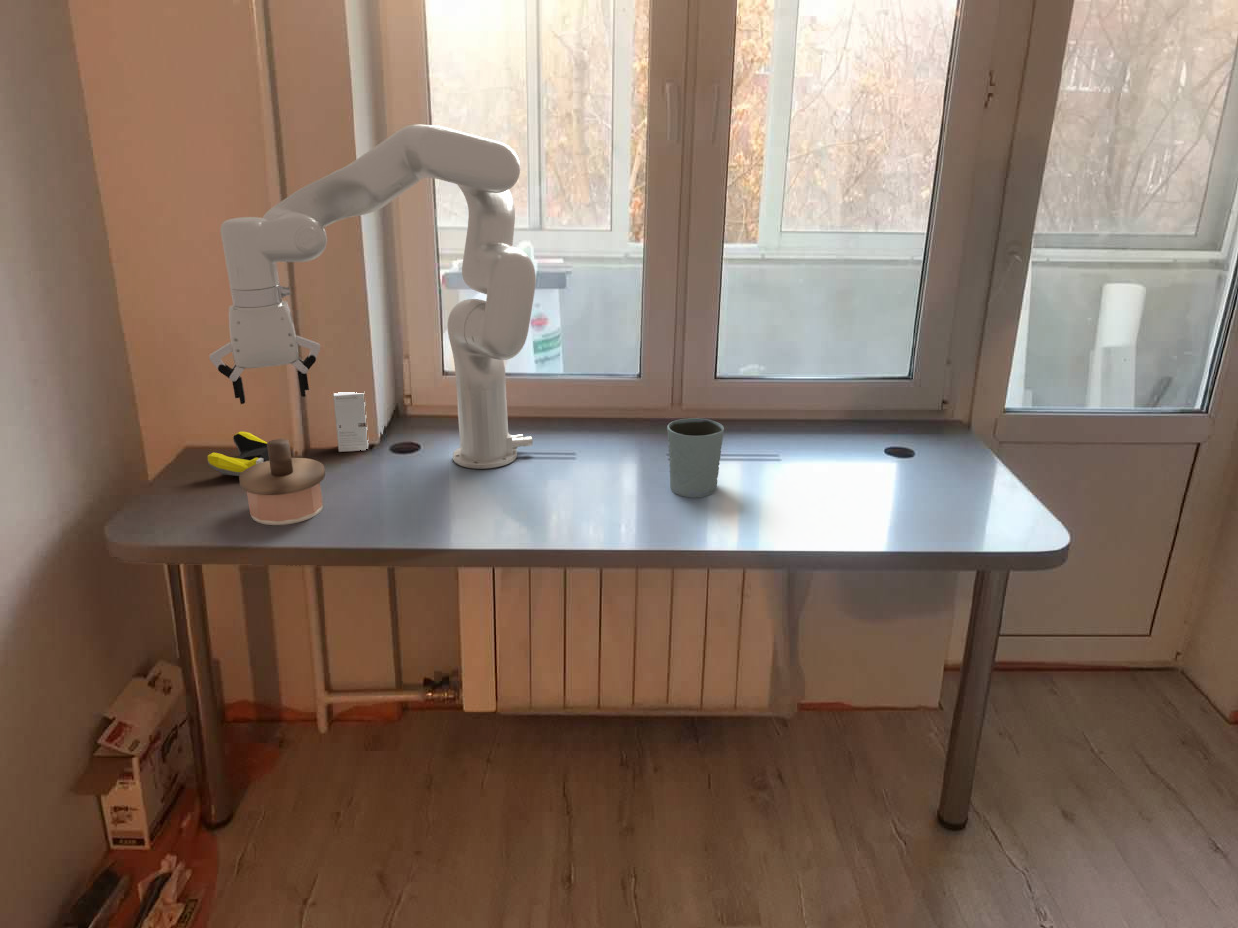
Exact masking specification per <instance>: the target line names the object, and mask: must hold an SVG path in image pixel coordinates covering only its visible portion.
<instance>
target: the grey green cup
mask: <svg viewBox="0 0 1238 928" xmlns="http://www.w3.org/2000/svg"><path fill="white" fill-rule="evenodd" d="M666 428H667V429H666V430H667V441H668V457H669V466H668V467H669V487H670V490H671V492H672V493H674V494H676V495H678V496H681V497H687V498H703V497H707V496H711V495H713V494H715V492H716V490H717V488H718V477H719V470H720V464H721V463H720V461H721V454H722V450H721V449H722V445H723V439H724V433H725V428H724V425H722V423H719V422H717V421H714V420H712V419H707V418H697V417H696V418H690V417H689V418H682V419H676V420H674V421H671V422H669V423H668V424H667V427H666Z"/></svg>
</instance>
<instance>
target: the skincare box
mask: <svg viewBox="0 0 1238 928" xmlns="http://www.w3.org/2000/svg"><path fill="white" fill-rule="evenodd" d="M364 394H365V392H364V393H357V392H356V393H355V392H338V393H334V392H333V396H332V397H333V405H334V416H335V426H336V427H335V428H336V437H337V447H338V448H337V449H338V452H339V453H341V452H344V453H345V452H356V451H357V452H358V451H360V450H361V451H367V450H366V449H368V450H369V443H368V441H369V439H368V440H367V430H368V426H367V427H366V418H367V414H366V415H365V406H366V401H365V402H364ZM361 451H360V452H361Z"/></svg>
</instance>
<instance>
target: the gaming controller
mask: <svg viewBox="0 0 1238 928" xmlns="http://www.w3.org/2000/svg"><path fill="white" fill-rule="evenodd" d="M232 440H233V443H234V445H235V446H236V448H237V450H238V453H239V455H238V457H231V456H227V455H224V454H222V453H218V452H212V453H210V454H208V455H207V464H208V465H209V466H210V468H212V469H214V470H215V471H216V472H218V473H221V474H222V475H223V476H233V477H239V476H240V474H241V473H242V472H243V471H244V470H246V469H247V468H249V467H251V466H253V465H256V464H259V463H262V462H266V461H269V455H268V448H267V443H268V442H267V441H265V440H263V439H261V438H259V437H258V436H256V435H254V434H252V433H251V432H247V431H239V432H237V433H235V434H233V438H232Z"/></svg>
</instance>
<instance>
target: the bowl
mask: <svg viewBox="0 0 1238 928" xmlns="http://www.w3.org/2000/svg"><path fill="white" fill-rule="evenodd" d="M321 489H322V486H321V482H320V483H318V484H317V485H315V486H313V487H310V488H308V489H305V490H302V491H298V492H294V493H288V494H281V495H259V494H253V493H249V492H247V491H246V496H247V503H248V508H249V514H250V517H251V519H252V520H253V521H255V522H256V523H258V524H261V525H267V526H286V525H293V524H298V523H301V522H305V521H307V520H309V519H312V518H313V517H316V516H317V515H318V514H320V513H321V512H322V511H323V509H324V507H323V506H324V504H323V496H322V490H321Z"/></svg>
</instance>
